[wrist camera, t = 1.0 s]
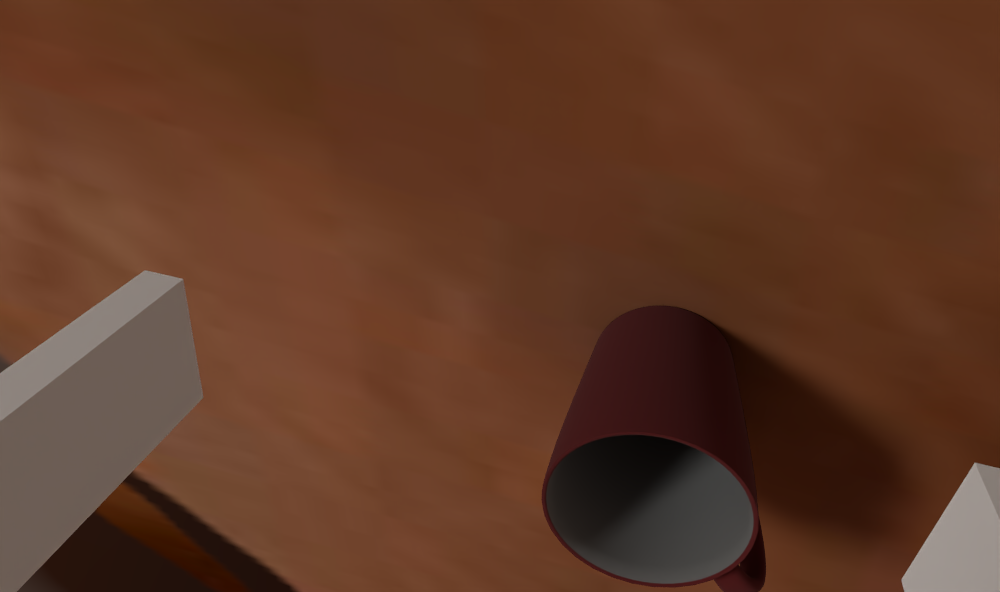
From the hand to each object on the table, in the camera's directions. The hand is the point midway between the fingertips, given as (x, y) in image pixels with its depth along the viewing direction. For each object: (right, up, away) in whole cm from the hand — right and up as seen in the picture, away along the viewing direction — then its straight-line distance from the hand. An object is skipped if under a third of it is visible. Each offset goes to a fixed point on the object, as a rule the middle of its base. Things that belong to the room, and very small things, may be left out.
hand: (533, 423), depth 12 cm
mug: (+9, -2, +27) cm, 29 cm away
